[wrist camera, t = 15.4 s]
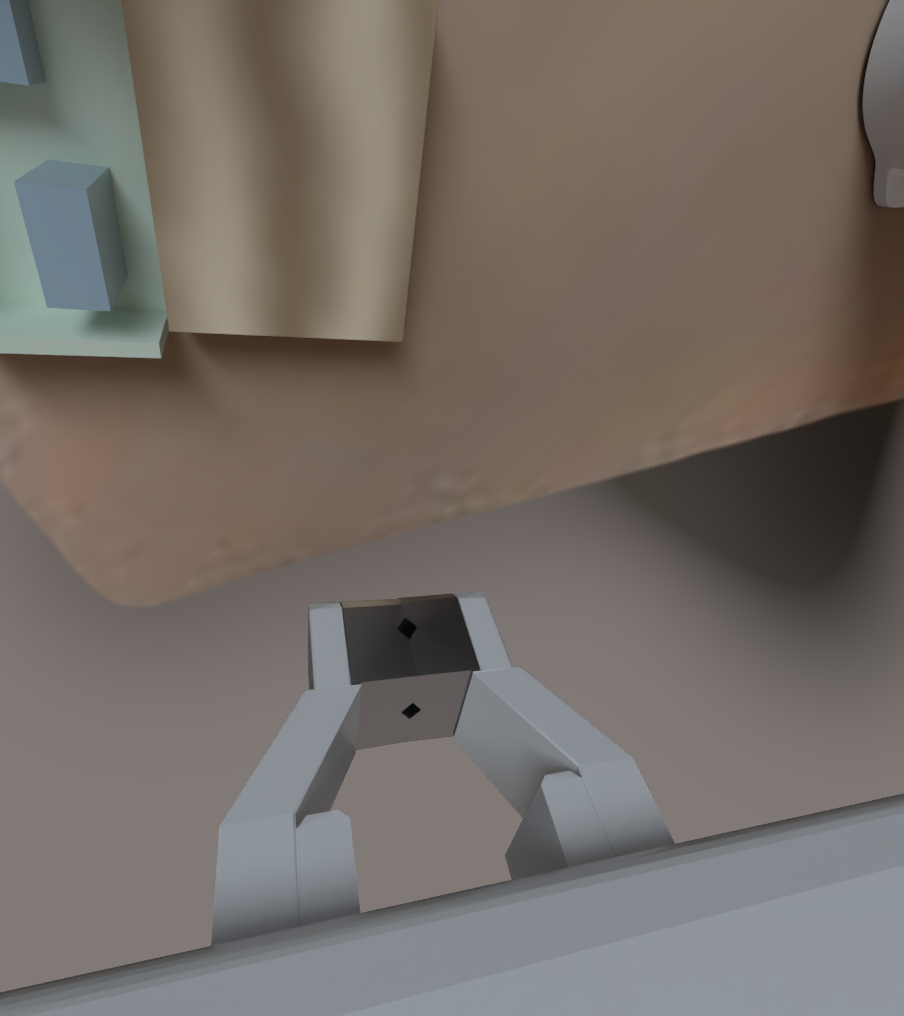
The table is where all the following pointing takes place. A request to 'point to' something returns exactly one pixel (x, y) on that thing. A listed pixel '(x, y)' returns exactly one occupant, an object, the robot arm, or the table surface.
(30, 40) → the tile
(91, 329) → the tray
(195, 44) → the beige shallow box
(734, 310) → the table surface
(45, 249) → the tile
